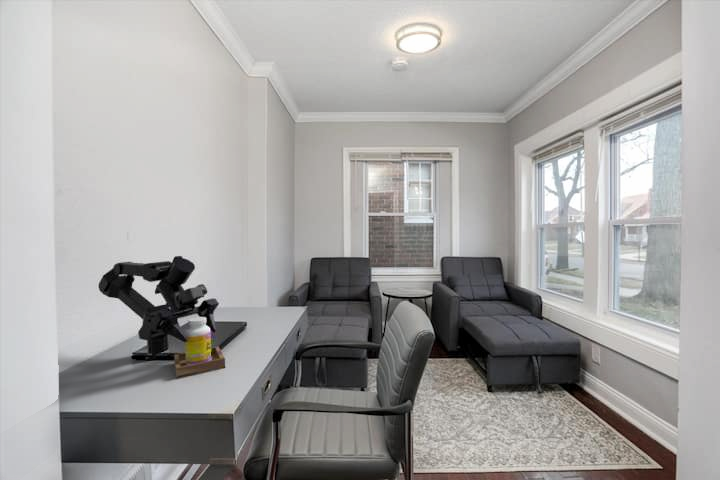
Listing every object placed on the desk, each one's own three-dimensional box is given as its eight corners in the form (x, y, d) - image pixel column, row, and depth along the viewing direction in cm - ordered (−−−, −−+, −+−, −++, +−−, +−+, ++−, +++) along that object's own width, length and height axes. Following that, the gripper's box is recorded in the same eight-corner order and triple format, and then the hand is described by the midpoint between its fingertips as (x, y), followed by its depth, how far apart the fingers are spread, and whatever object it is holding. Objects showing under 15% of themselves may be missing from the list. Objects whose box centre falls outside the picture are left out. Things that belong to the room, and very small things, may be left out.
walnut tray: (174, 363, 96) (174, 354, 96) (218, 354, 103) (218, 345, 103) (176, 378, 86) (176, 368, 86) (225, 367, 92) (224, 358, 92)
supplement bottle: (210, 365, 92) (208, 320, 92) (183, 369, 90) (181, 323, 90) (213, 357, 99) (211, 314, 98) (188, 360, 97) (186, 317, 96)
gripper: (154, 281, 87) (183, 328, 82) (213, 272, 104) (240, 310, 99) (138, 308, 91) (164, 354, 86) (197, 295, 107) (222, 333, 103)
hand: (201, 336), depth 93 cm, fingers open, 9 cm apart
